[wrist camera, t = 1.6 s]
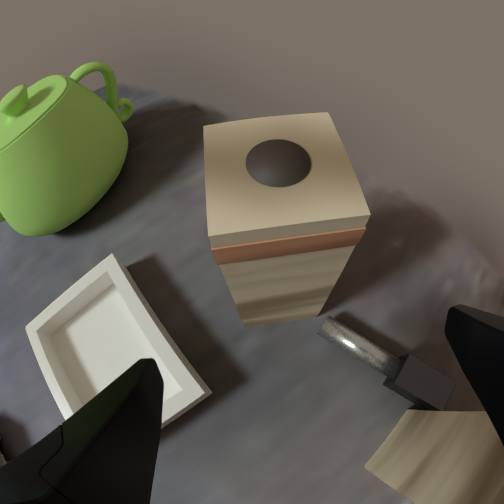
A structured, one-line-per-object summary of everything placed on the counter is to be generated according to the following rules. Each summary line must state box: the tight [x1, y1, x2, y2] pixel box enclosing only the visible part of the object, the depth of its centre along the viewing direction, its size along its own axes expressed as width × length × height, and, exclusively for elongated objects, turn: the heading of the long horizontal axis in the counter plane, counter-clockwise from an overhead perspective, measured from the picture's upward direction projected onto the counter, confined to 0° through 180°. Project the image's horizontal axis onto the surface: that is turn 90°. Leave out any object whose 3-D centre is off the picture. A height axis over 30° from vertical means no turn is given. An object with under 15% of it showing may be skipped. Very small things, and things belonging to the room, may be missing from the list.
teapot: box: [0, 62, 134, 237], centre depth 22 cm, size 22×15×13 cm
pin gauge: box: [317, 316, 456, 411], centre depth 18 cm, size 10×2×2 cm, turn 54°
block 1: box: [203, 113, 371, 328], centre depth 16 cm, size 5×5×13 cm
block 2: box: [364, 409, 504, 504], centre depth 10 cm, size 5×5×13 cm
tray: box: [25, 254, 213, 429], centre depth 19 cm, size 12×10×2 cm
